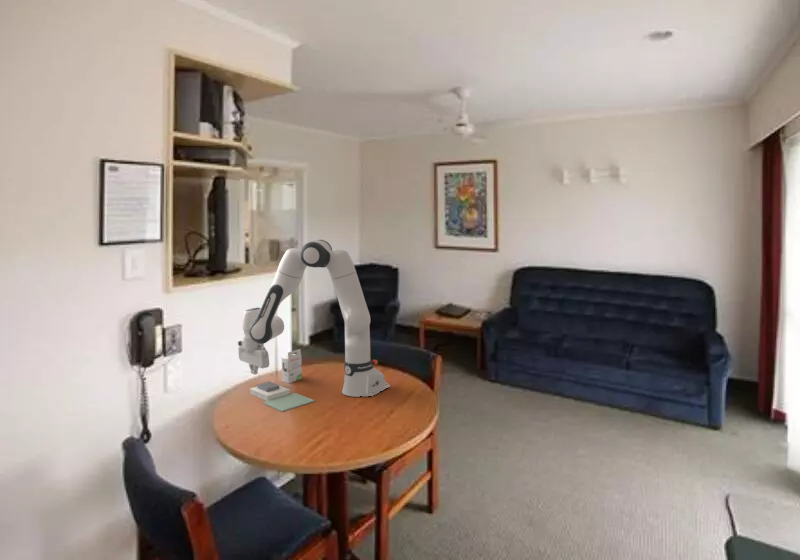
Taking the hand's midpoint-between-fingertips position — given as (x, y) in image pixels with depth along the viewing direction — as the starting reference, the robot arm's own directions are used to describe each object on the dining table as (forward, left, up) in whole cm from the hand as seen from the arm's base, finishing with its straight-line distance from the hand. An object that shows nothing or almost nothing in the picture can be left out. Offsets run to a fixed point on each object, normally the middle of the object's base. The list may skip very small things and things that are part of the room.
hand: (254, 373), depth 223 cm
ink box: (-19, +2, -7) cm, 20 cm away
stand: (0, +12, -7) cm, 14 cm away
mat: (0, +26, -7) cm, 27 cm away
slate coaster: (0, +11, -5) cm, 12 cm away
